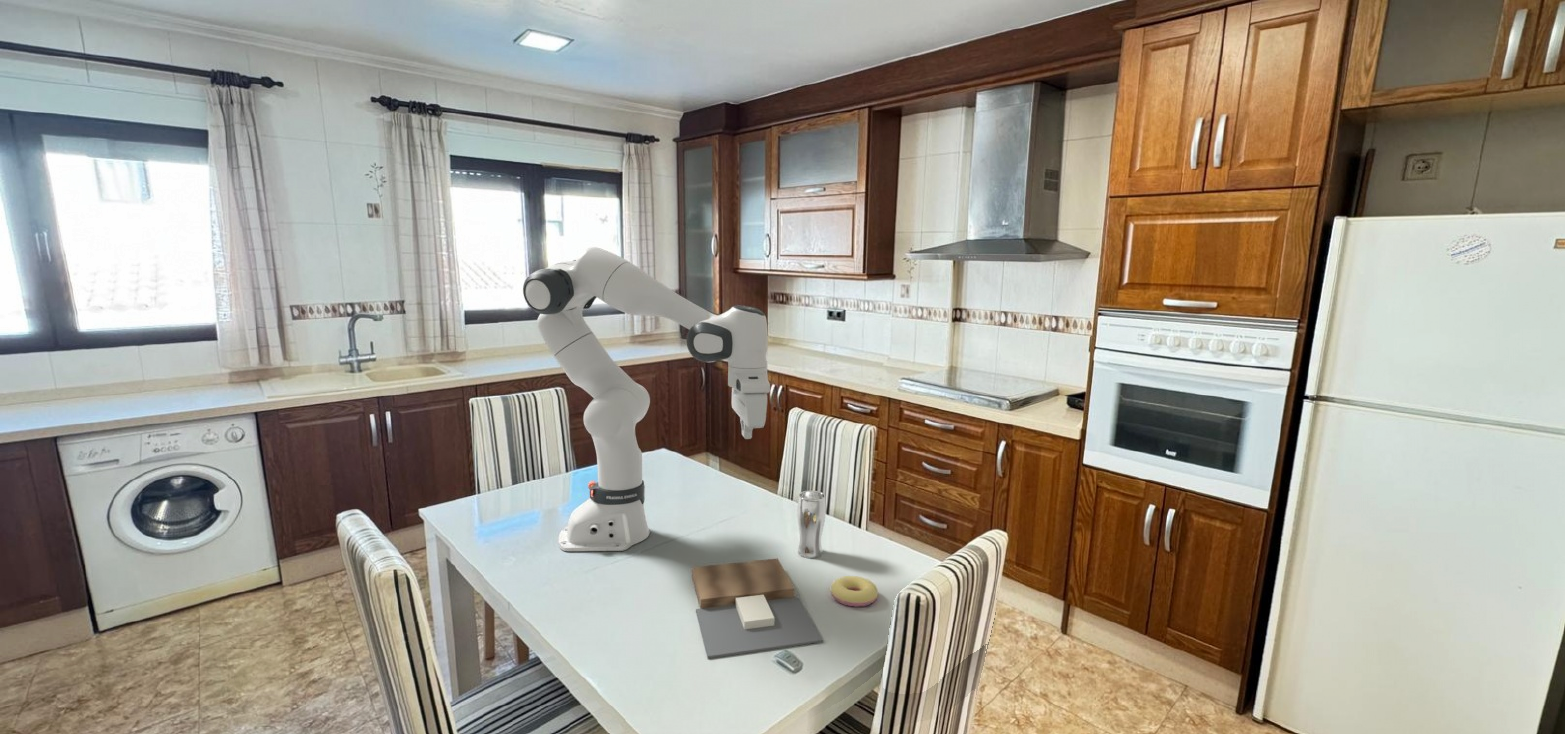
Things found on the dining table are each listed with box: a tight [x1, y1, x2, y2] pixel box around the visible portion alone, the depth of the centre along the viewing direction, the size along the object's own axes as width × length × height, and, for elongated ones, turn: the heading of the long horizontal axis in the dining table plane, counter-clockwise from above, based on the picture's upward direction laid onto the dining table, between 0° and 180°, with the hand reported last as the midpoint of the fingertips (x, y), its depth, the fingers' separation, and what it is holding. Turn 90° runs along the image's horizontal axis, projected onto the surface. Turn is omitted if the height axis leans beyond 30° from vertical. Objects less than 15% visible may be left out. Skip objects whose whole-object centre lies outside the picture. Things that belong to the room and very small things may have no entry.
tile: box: [735, 595, 774, 629], centre depth 128 cm, size 6×9×2 cm, turn 16°
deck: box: [691, 558, 795, 609], centre depth 139 cm, size 20×14×2 cm
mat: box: [695, 596, 824, 660], centre depth 125 cm, size 22×16×1 cm
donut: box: [830, 575, 879, 608], centre depth 136 cm, size 10×5×9 cm
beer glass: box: [796, 490, 827, 559], centre depth 155 cm, size 7×7×15 cm
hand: (746, 437), depth 145 cm, fingers closed
